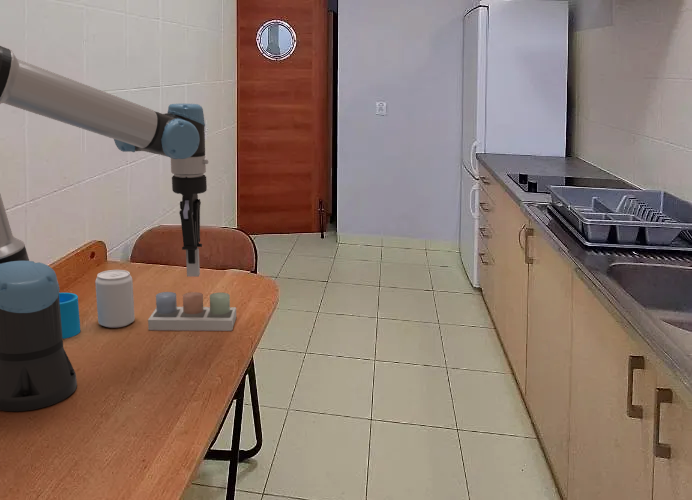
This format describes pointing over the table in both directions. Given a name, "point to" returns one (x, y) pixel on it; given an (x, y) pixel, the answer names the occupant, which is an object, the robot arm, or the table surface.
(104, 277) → the beverage can
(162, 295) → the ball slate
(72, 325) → the mug
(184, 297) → the button terracotta
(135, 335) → the table surface
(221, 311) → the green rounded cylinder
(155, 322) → the three-ball tray
